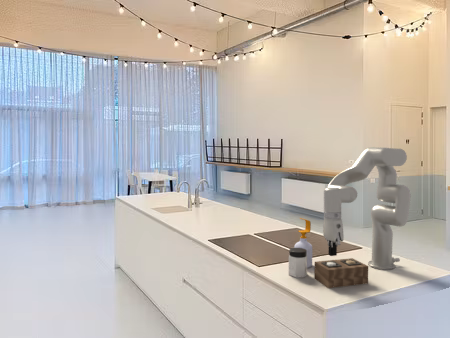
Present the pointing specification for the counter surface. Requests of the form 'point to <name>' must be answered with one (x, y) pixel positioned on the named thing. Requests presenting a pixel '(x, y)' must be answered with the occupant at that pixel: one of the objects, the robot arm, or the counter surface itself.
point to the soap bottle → (305, 242)
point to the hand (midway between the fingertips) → (332, 255)
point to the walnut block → (341, 273)
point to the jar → (297, 262)
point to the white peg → (331, 263)
